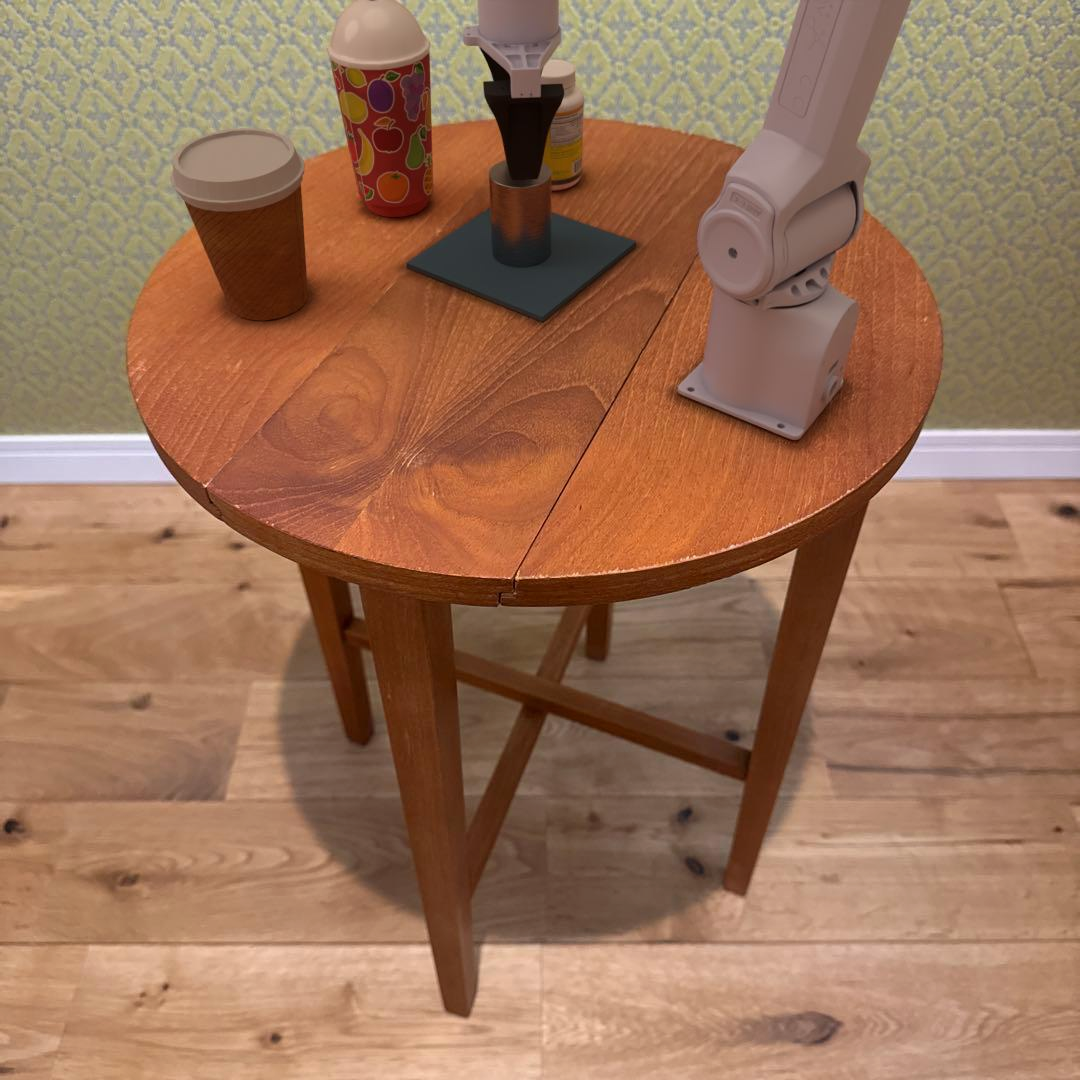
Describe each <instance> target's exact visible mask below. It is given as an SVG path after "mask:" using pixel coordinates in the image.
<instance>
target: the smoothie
mask: <svg viewBox="0 0 1080 1080" xmlns="http://www.w3.org/2000/svg"><path fill="white" fill-rule="evenodd" d="M430 49H431V41H430V40H429V39H428V37H427V35H425V34H424V32H423V30H422V28H421V26H420V24H419V22H418V21H417V19H416V18H415V16H414V15H413V14H412V12H411V11H410V10H409V9H408V8H407V7H406V6H405V5H403V4H402V3H400V2H399V1H397V0H354V1H352V2H351V3H350V4H349V5H347V6H346V7H345V8H344V9H343V11H342V12H341V13H340V15H339V16H338V18H337V20H336V23H335V25H334V27H333V32H332V34H331V40H330V41H329V43H328V44H327V47H326V52H327V54H328V57H329V63H330V68H331V72H332V77H333V82H334V86H335V91H336V95H337V100H338V104H339V109H340V115H341V118H342V119H341V120H342V123H343V128H344V133H345V137H346V142H347V146H348V152H349V157H350V160H351V165H352V166H351V167H352V171H353V174H354V179H355V185H356V189H357V193H358V195H359V198H360V199H362V200H363V201H364V202H365V204H366V207H367V210H369V211H370V212H371V213H373V214H375V215H378V216H381V217H388V218H403V217H408V216H411V215H414V214H417V213H419V212H421V211H422V210H424V209H425V207H426V206H428V204H429V196H430V195H431V194H432V193H433V191H434V167H433V166H434V165H433V163H434V162H433V129H432V128H433V127H432V124H433V123H432V122H433V121H432V90H431V89H432V88H431V56H430V54H431V53H430Z"/></svg>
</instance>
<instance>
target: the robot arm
mask: <svg viewBox="0 0 1080 1080" xmlns="http://www.w3.org/2000/svg"><path fill="white" fill-rule="evenodd" d="M911 2H912V0H799V3H798V6H797V9H796V13H795V16H794V19H793V23H792V25H791V30H790V33H789V36H788V40H787V43H786V47H785V49H784V50H785V51H784V53H783V57H782V60H781V63H780V67H779V69H778V74H777V77H776V80H775V84H774V87H773V91H772V94H771V96H770V97H771V98H770V101H769V104H768V107H767V111H766V114H765V118H764V121H763V125H762V128H761V129H760V131H759V133H758V134H757V135H756V136H755V137H754V139H753V140H752V141H751V142H750V144H749V145H748V146H747V147H746V148H745V150H744V151H743V152H742V153H741V154H740V156H739V157H738V158H737V159H736V161H735V162H734V163H733V164H732V166H731V167H730V169H728V172H727V173H726V175H725V179H724V182H723V185H722V186H723V187H722V189H721V191H720V193H719V196H718V197H717V198H716V200H715V201H714V202H713V203H712V205H710V206H709V207H708V208H707V209H706V210H705V212H704V213H703V215H702V216H701V218H700V220H699V224H698V228H697V232H696V233H697V235H696V247H697V253H698V256H699V257H698V258H699V259H700V264H701V266H702V268H703V270H704V272H705V274H706V275H707V277H708V278H709V284H710V285H711V286H712V287H713V291H712V297H711V303H710V304H711V305H710V311H709V318H708V326H707V331H706V339H705V345H704V346H705V347H704V352H703V359H702V361H701V362H700V363H699V364H697V366H696V367H695V368H694V369H693V370H692V371H691V372H690V373H689V374H688V375H687V376H686V377H685V378H684V379H683V380H682V381H681V382H680V383H679V384H678V385H677V393H678V394H679V395H681V396H684V397H685V398H688V399H691V400H693V401H695V402H698V403H700V404H703V405H705V406H708V407H710V408H712V409H715V410H718V411H720V412H722V413H725V414H727V415H730V416H733V417H735V418H736V419H737V418H738V419H739V420H742V421H745V422H747V423H750V424H752V425H754V426H757V427H759V428H761V429H765V430H766V431H769V432H772V433H774V434H776V435H778V436H781V437H784V438H786V439H789V440H790V441H797V440H800V439H801V438H802V437H803V436H804V435H805V434H806V432H807V431H808V430H809V428H810V427H811V426H812V424H813V423H814V422H815V421H816V420H817V418H818V417H819V416H820V414H821V413H822V412H823V411H824V409H825V408H826V407H827V406H828V404H829V403H830V402H831V401H832V399H833V398H834V397H835V396H836V395H837V393H838V392H839V391H840V390H841V388H842V387H843V384H844V379H843V376H844V373H845V369H846V365H847V361H848V357H849V354H850V350H851V346H852V343H853V340H854V335H855V332H856V328H857V325H858V324H857V323H858V321H859V316H860V302H859V301H857V300H855V299H854V298H852V297H850V296H848V295H846V294H845V293H843V292H842V291H840V290H839V289H838V288H836V286H834V285H833V284H832V283H831V282H830V281H829V280H830V279H829V278H830V272H831V270H833V266H834V262H835V258H836V254H837V252H838V251H839V250H842V249H844V248H845V247H846V246H848V245H849V244H851V243H852V241H853V240H854V239H855V238H856V236H857V235H858V233H859V232H860V229H861V227H862V224H863V220H864V216H865V215H864V214H865V199H864V188H865V187H864V186H865V181H866V178H867V175H868V172H869V169H870V167H871V165H872V159H871V157H870V156H869V154H868V153H867V151H866V149H864V148H863V146H862V145H861V144H860V143H859V142H858V141H859V138H860V136H861V133H862V131H863V127H864V125H865V122H866V120H867V117H868V114H869V112H870V109H871V107H872V104H873V102H874V100H875V99H874V98H875V96H876V93H877V91H878V88H879V86H880V84H881V80H882V78H883V75H884V73H885V70H886V67H887V65H888V62H889V59H890V57H891V54H892V52H893V49H894V47H895V44H896V41H897V39H898V37H899V34H900V31H901V28H902V26H903V23H904V21H905V18H906V15H907V12H908V9H909V7H910V6H911V5H910V4H911ZM559 7H560V0H477V18H478V24H477V25H468V26H464V27H463V28H462V39H463V45H465V46H468V47H478V48H479V51H480V52H481V53H482V56H483V57H484V59H485V60H484V61H486V64H487V67H488V69H489V71H490V73H491V74H490V75H491V78H492V80H484V81H482V88H483V96H484V99H485V102H486V104H487V106H488V108H489V109H490V111H491V113H492V115H493V117H494V119H495V122H496V124H497V126H498V130H499V133H500V136H501V141H502V145H503V151H504V157H505V160H506V162H507V167H508V171H509V174H510V177H511V179H512V180H529V179H538V177H539V174H540V170H541V166H542V162H543V156H544V151H545V145H546V140H547V136H548V132H549V129H550V126H551V123H552V121H553V118H554V116H555V114H556V112H557V110H558V109H559V107H560V105H561V103H562V101H563V97H564V88H563V84H541V74H542V71H543V68H544V66H545V64H546V63H547V61H548V60H551V57H552V56H553V54H554V53H555V52H556V50H557V49H558V48H559V45H560V44H561V42H562V27H561V26H560V25H559V24H560V23H559V21H560V19H559V18H560V17H559V11H560V9H559Z"/></svg>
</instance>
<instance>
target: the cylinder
mask: <svg viewBox="0 0 1080 1080" xmlns="http://www.w3.org/2000/svg"><path fill="white" fill-rule="evenodd" d="M551 178H552V172H551V169H550V168H549V167H548V166H547V165H546V164H544V163H542V166H541V170H540V174H539V177H538V179H529V180H512V179H511V177H510V174H509V171H508V167H507V162H506V159H505V160H502V161H499V162H497V163H495V164H494V165H492V167H491V168H490V169H489V171H488V187H489V188H488V189H489V191H488V192H489V208H490V214H491V236H492V254H493V256H494V258H495V259H496V260H497V261H498V262H500V263H502V264H504V265H507V266H512V267H531V266H535V265H538V264H541V263H543V262H544V261H546V260H547V259H548V258H549V257H550V255H551V212H552V190H551Z"/></svg>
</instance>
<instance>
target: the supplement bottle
mask: <svg viewBox="0 0 1080 1080" xmlns="http://www.w3.org/2000/svg"><path fill="white" fill-rule="evenodd" d="M576 82H577V80H576V67H575V65H574V64H573V63H572V62H569V61H566V60H562V59H549V60H548V61H547V63H546V64H545V66H544V68H543V71H542V74H541V84H563V88H564V97H563V101H562V103H561V105H560V107H559V109H558V110H557V112H556V114H555V116H554V118H553V121H552V123H551V126H550V129H549V132H548V136H547V140H546V145H545V151H544V156H543V162H542V163H544V164H546V165H547V166H548V167H549V168H550V169H551V172H552V178H551V191H561V190H566V189H569V188H571V187H573V186H575V185H576V184H577V183H578V182H579V181H580V180H581V177H582V173H583V171H582V170H583V147H584V146H583V145H584V144H583V143H584V111H585V109H584V107H585V105H584V104H585V97H584V96H585V95H584V92H583V90H582V89H581V88H580V87H579V86H578V85H577V84H576Z"/></svg>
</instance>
